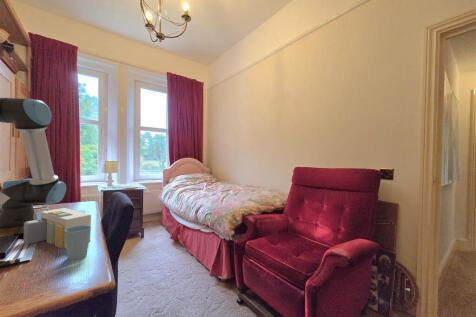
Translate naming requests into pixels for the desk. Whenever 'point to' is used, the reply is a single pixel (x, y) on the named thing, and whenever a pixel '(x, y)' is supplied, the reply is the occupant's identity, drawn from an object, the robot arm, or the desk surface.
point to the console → (66, 219)
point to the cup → (77, 241)
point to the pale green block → (51, 232)
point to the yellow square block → (60, 236)
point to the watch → (38, 211)
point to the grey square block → (35, 231)
